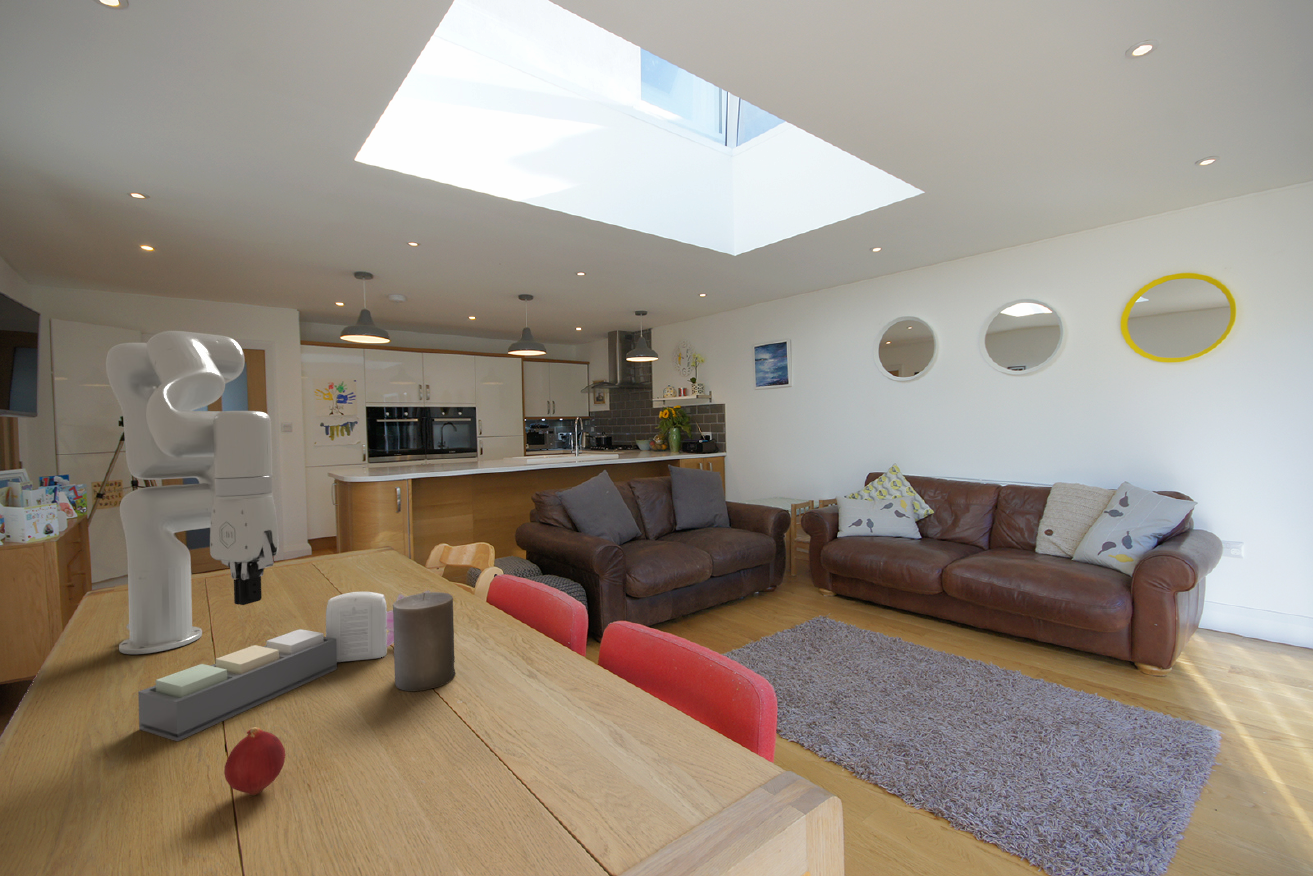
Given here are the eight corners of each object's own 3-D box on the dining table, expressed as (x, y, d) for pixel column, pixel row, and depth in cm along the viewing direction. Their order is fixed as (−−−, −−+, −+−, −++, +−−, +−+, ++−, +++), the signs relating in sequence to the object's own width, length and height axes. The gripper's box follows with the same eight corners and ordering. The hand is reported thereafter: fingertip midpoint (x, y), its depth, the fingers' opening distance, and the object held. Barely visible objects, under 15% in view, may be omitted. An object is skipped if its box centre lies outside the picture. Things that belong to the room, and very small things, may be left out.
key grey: (266, 664, 97) (266, 640, 97) (300, 651, 103) (299, 629, 103) (291, 669, 95) (290, 645, 95) (323, 655, 101) (323, 633, 100)
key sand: (216, 683, 90) (215, 658, 90) (255, 668, 95) (254, 645, 95) (241, 690, 88) (240, 664, 87) (279, 674, 93) (279, 650, 93)
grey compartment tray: (139, 729, 82) (138, 691, 81) (302, 662, 105) (301, 632, 104) (177, 741, 78) (176, 702, 78) (336, 669, 101) (336, 638, 101)
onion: (246, 779, 70) (245, 715, 70) (295, 776, 70) (294, 713, 70) (213, 811, 64) (212, 741, 64) (267, 808, 64) (265, 739, 64)
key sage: (156, 707, 82) (155, 680, 82) (202, 689, 88) (201, 663, 88) (182, 714, 80) (181, 686, 80) (227, 695, 86) (227, 669, 86)
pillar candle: (467, 672, 100) (465, 587, 100) (423, 696, 91) (421, 603, 91) (426, 664, 104) (424, 582, 104) (380, 686, 95) (378, 597, 95)
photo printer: (389, 650, 110) (388, 587, 110) (385, 659, 106) (384, 593, 106) (329, 656, 107) (328, 591, 107) (323, 666, 103) (322, 598, 103)
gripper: (188, 489, 90) (192, 605, 90) (252, 491, 84) (255, 614, 85) (238, 485, 97) (241, 592, 97) (299, 486, 91) (303, 599, 92)
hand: (248, 602), depth 91 cm, fingers closed
